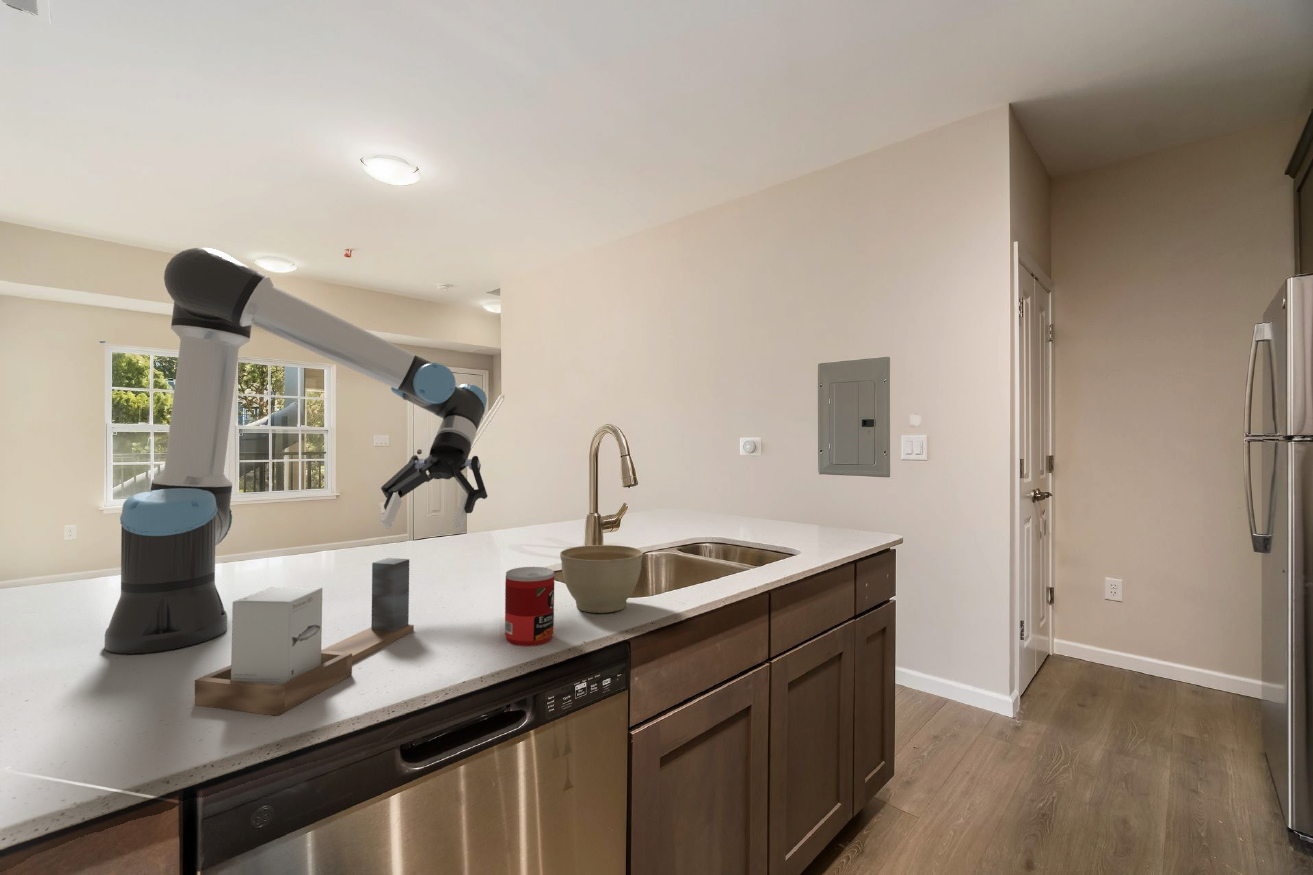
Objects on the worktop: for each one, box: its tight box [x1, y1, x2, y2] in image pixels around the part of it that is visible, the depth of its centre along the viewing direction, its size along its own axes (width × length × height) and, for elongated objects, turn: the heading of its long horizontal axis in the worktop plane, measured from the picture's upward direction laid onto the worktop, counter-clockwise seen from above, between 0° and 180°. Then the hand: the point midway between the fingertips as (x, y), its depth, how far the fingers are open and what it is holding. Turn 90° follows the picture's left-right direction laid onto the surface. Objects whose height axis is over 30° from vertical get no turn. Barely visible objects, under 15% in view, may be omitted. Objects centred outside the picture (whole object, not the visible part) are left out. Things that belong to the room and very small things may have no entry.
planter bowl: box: [559, 544, 644, 614], centre depth 114 cm, size 16×16×11 cm
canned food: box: [504, 566, 555, 647], centre depth 96 cm, size 8×8×11 cm
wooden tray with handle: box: [194, 557, 415, 717], centre depth 84 cm, size 12×30×12 cm, turn 168°
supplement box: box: [230, 586, 323, 686], centre depth 75 cm, size 7×7×13 cm
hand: (421, 525), depth 107 cm, fingers open, 13 cm apart
